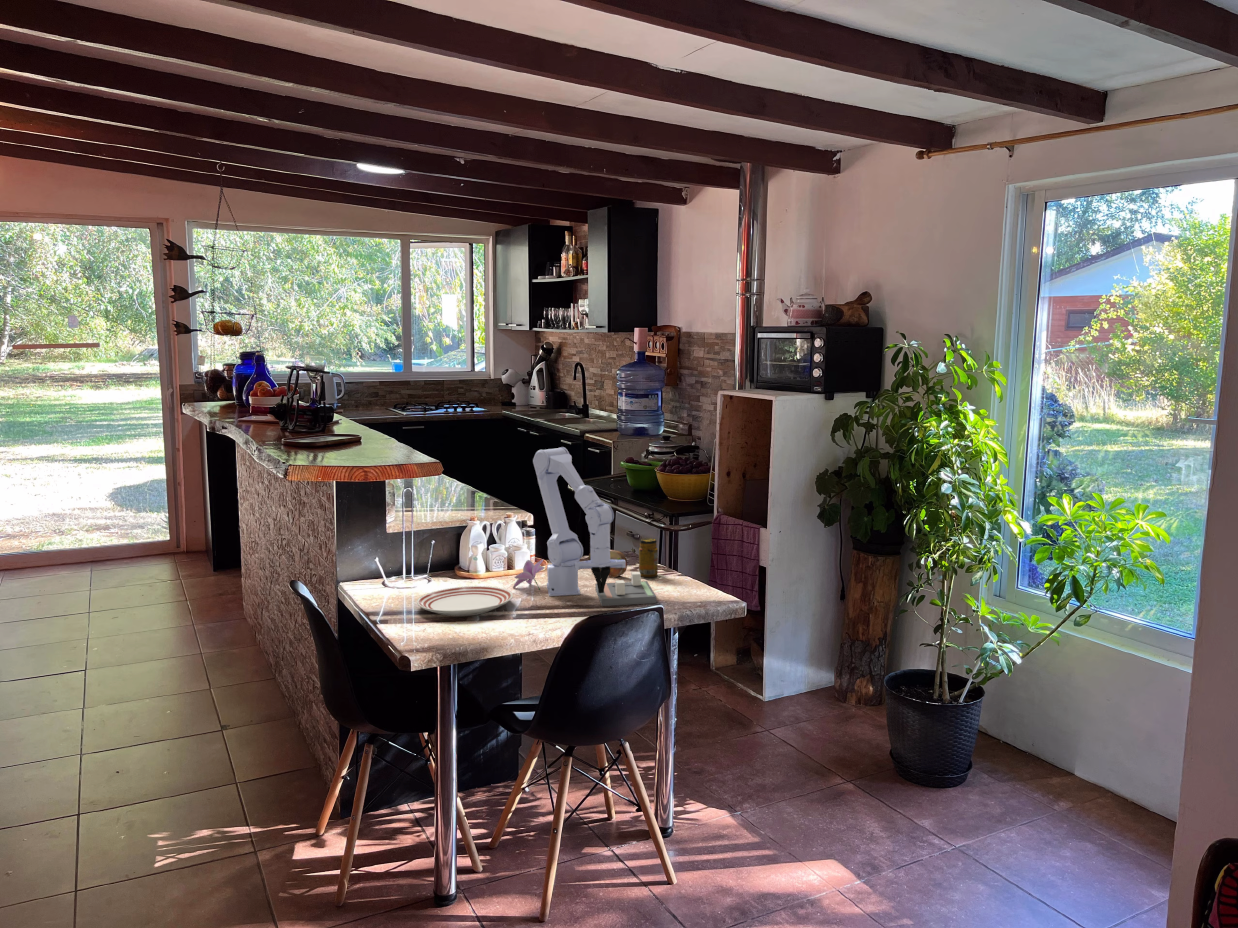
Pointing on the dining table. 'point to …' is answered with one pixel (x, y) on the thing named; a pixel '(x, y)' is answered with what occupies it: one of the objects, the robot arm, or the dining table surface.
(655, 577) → the condiment
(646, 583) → the grey board
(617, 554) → the tin
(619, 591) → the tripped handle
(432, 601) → the dinner plate
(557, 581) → the robot arm
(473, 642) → the dining table surface
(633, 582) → the handle
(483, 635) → the dining table surface
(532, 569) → the lily
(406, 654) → the dining table surface
